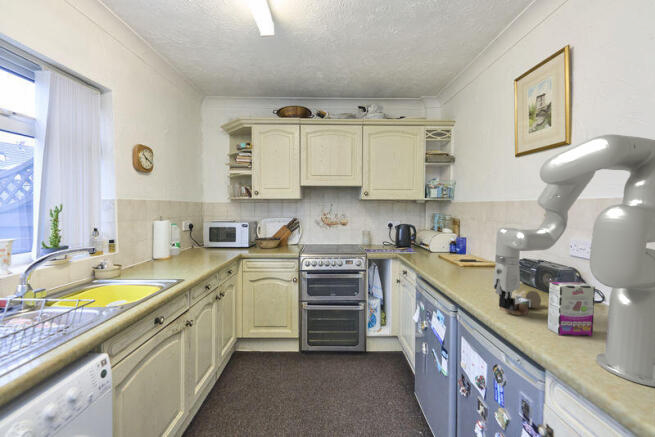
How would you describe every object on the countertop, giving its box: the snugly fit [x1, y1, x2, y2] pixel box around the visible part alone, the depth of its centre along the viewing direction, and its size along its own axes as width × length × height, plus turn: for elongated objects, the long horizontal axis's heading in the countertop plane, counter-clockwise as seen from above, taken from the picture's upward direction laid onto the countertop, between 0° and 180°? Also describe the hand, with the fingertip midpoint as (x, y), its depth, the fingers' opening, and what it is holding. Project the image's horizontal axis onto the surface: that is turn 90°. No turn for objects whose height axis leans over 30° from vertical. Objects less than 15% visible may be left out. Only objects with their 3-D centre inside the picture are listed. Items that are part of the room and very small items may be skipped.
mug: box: [512, 289, 542, 309], centre depth 111 cm, size 8×10×10 cm
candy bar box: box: [547, 281, 596, 337], centre depth 87 cm, size 11×5×16 cm, turn 90°
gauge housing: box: [499, 303, 529, 317], centre depth 104 cm, size 6×7×4 cm
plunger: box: [504, 296, 531, 311], centre depth 105 cm, size 11×5×5 cm, turn 117°
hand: (504, 307), depth 101 cm, fingers closed
